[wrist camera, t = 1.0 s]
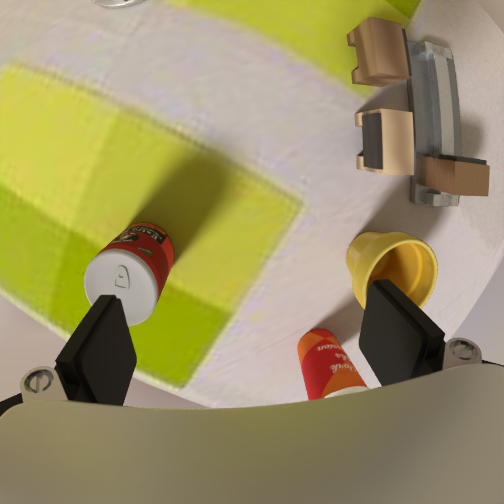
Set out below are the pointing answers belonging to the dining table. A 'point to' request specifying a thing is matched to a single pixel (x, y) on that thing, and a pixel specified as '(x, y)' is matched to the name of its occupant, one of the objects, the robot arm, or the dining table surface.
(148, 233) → the canned food
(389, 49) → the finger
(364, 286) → the plant pot
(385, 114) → the tan notched block
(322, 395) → the coffee cup
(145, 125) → the dining table surface
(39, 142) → the dining table surface
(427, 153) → the rail
